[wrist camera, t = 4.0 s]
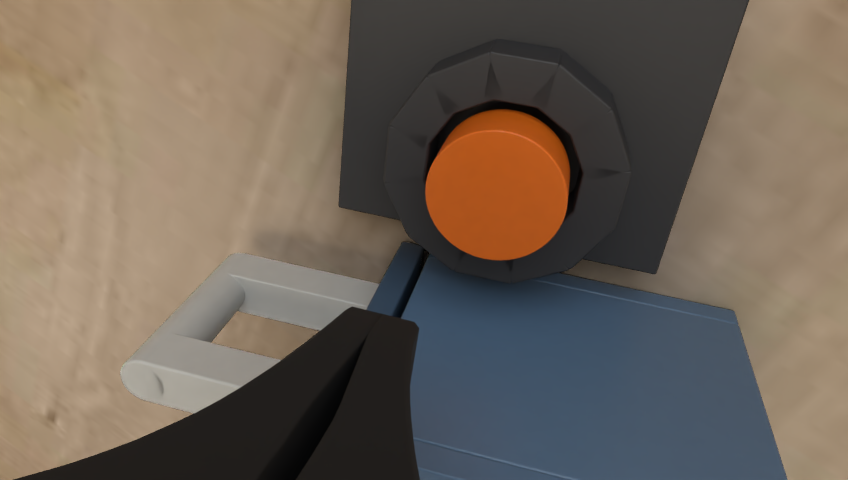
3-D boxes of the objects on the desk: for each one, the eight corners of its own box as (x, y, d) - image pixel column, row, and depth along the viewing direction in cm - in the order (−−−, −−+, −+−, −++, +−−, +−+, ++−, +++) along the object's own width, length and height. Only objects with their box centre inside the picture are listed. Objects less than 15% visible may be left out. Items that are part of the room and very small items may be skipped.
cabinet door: (249, 474, 31) (126, 685, 23) (246, 206, 24) (69, 372, 16) (388, 512, 30) (311, 745, 22) (424, 245, 23) (333, 440, 15)
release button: (554, 243, 19) (551, 274, 18) (430, 217, 20) (417, 245, 18) (584, 122, 17) (583, 145, 16) (447, 97, 18) (433, 117, 16)
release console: (648, 264, 22) (655, 317, 19) (350, 202, 23) (319, 242, 21) (740, -11, 18) (764, 8, 15) (370, -68, 19) (334, -60, 16)
